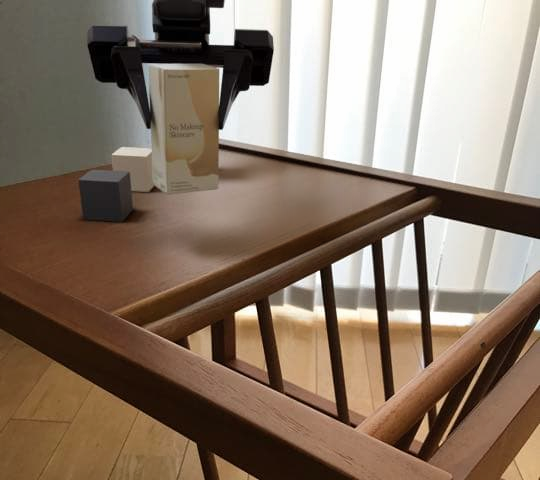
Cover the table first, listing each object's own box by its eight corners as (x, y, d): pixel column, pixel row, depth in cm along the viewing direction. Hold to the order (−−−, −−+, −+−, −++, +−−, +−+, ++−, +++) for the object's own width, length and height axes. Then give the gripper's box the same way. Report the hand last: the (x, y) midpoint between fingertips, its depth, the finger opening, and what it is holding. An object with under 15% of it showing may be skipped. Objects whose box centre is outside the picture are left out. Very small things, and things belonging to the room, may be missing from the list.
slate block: (95, 207, 83) (91, 169, 80) (133, 209, 82) (129, 171, 80) (82, 219, 78) (78, 179, 76) (122, 222, 78) (118, 181, 76)
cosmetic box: (167, 196, 65) (160, 68, 59) (151, 185, 69) (144, 63, 62) (222, 189, 68) (221, 66, 62) (205, 179, 72) (202, 61, 65)
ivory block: (124, 181, 94) (121, 146, 92) (157, 182, 94) (155, 148, 91) (114, 190, 90) (111, 154, 87) (148, 192, 90) (146, 156, 87)
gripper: (77, -73, 59) (75, 71, 55) (275, -64, 61) (285, 76, 57) (96, 17, 69) (95, 143, 66) (264, 23, 72) (272, 145, 68)
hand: (184, 127), depth 64 cm, fingers closed on cosmetic box, 7 cm apart
